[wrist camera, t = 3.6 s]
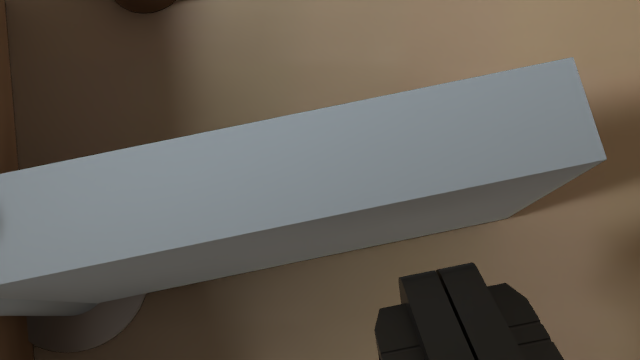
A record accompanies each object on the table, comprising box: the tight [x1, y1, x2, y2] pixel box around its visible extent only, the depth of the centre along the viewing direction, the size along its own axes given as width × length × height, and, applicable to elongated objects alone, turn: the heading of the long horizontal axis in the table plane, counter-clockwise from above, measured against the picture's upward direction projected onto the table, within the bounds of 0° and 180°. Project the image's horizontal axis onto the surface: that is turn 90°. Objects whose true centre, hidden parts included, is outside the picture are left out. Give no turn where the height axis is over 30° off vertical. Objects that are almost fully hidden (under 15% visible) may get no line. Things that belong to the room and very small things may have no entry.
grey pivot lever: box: [0, 57, 607, 316], centre depth 15 cm, size 15×3×8 cm, turn 101°
